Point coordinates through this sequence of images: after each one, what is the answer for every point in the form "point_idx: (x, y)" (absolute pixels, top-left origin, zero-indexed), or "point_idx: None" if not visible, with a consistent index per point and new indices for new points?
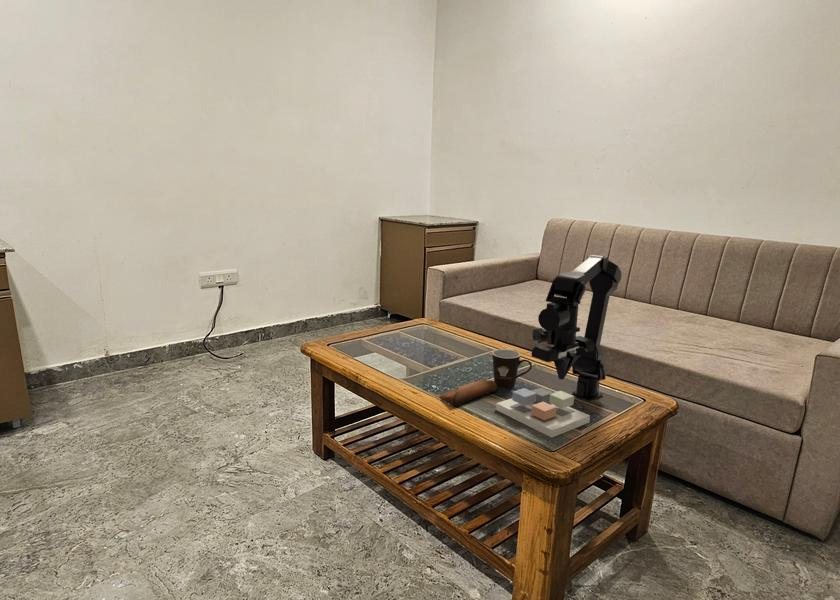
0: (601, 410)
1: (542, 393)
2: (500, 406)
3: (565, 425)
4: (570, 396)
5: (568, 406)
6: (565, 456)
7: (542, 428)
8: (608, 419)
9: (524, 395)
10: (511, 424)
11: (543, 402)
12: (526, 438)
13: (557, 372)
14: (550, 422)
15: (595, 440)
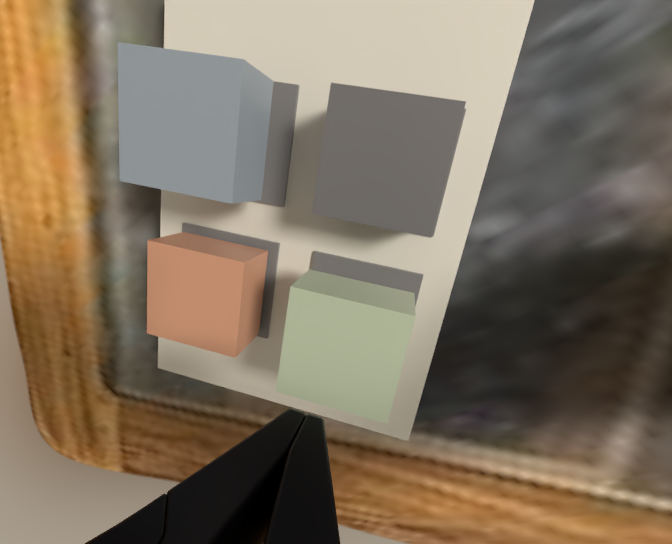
0: (597, 420)
1: (356, 186)
2: (169, 13)
3: (236, 390)
4: (362, 408)
5: (440, 321)
6: (120, 431)
7: None
8: (503, 470)
9: (136, 161)
10: None
11: (233, 271)
12: (105, 284)
13: (234, 451)
14: None
15: None
